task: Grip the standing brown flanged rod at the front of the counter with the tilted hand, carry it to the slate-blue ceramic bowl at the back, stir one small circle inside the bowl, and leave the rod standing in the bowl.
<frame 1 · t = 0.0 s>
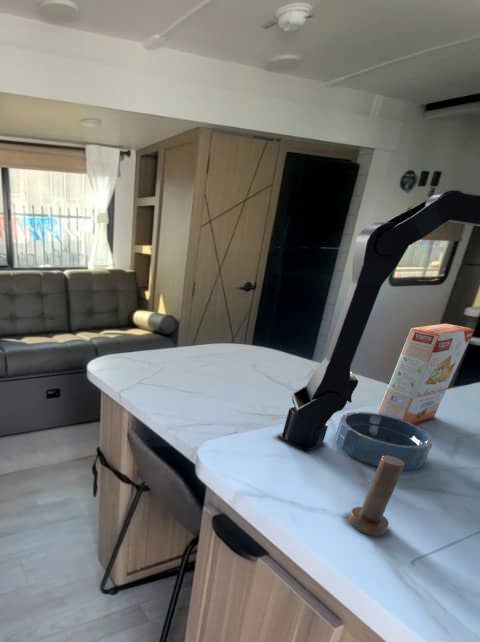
cracker box: (405, 419, 93), on the table
brown flanged rod: (366, 525, 59), on the table
bowl: (376, 451, 79), on the table
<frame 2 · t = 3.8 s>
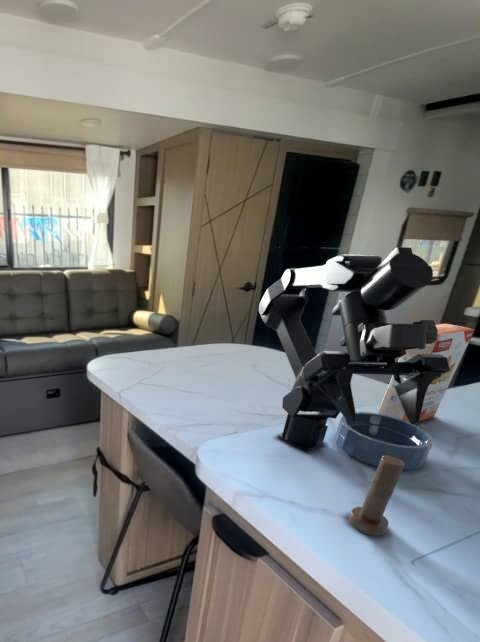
hand: (383, 422, 58), 14 cm above the table, tool tilted 45°, fingers open, 9 cm apart
nothing on the table moved.
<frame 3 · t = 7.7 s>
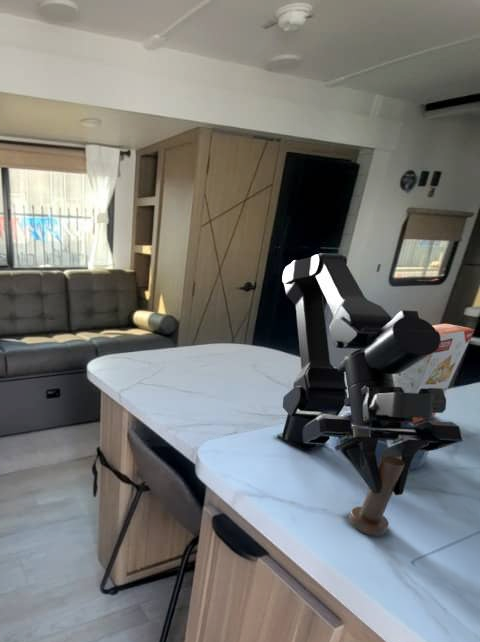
hand: (387, 493, 55), 7 cm above the table, tool tilted 45°, fingers closed on brown flanged rod, 2 cm apart
brown flanged rod: (366, 525, 59), on the table, touching gripper
everything else where it was.
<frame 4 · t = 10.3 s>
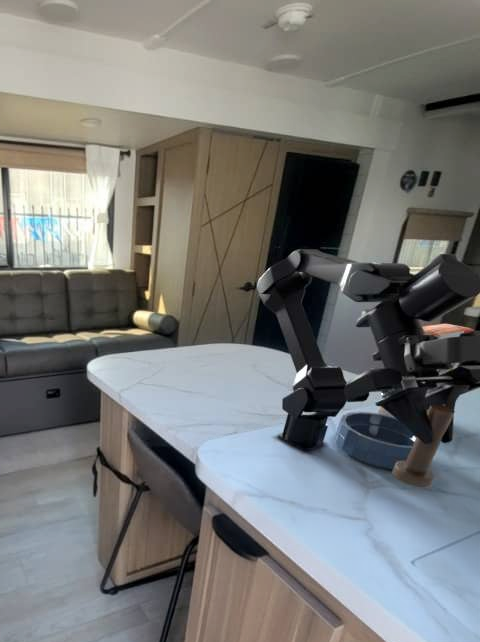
hand: (438, 442, 54), 13 cm above the table, tool tilted 45°, fingers closed on brown flanged rod, 2 cm apart
brown flanged rod: (410, 478, 58), point 7 cm above the table, touching gripper
everything else where it was.
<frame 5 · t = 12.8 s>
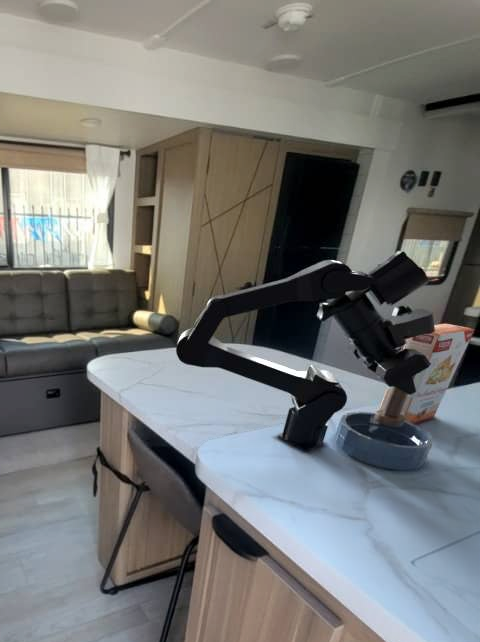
hand: (409, 390, 73), 13 cm above the table, tool tilted 45°, fingers closed on brown flanged rod, 2 cm apart
brown flanged rod: (387, 421, 76), point 6 cm above the table, touching gripper
everything else where it was.
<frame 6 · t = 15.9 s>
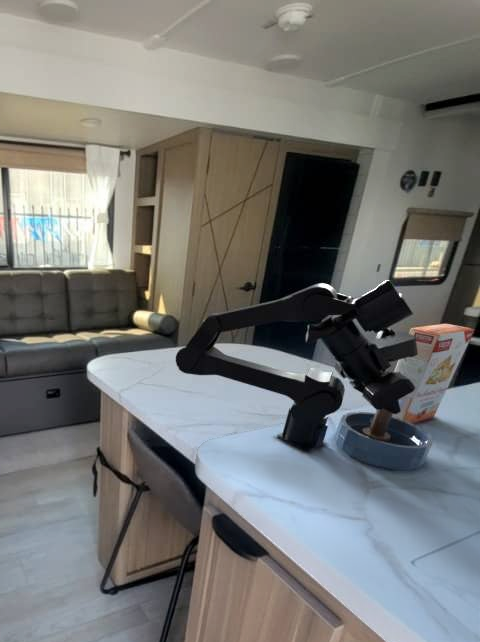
hand: (394, 409, 75), 9 cm above the table, tool tilted 45°, fingers closed on brown flanged rod, 2 cm apart
brown flanged rod: (373, 439, 78), point 2 cm above the table, touching gripper
everything else where it was.
when the fingers open (7 cm above the table, at t = 18.0 s): brown flanged rod stays where it is, resting on bowl.
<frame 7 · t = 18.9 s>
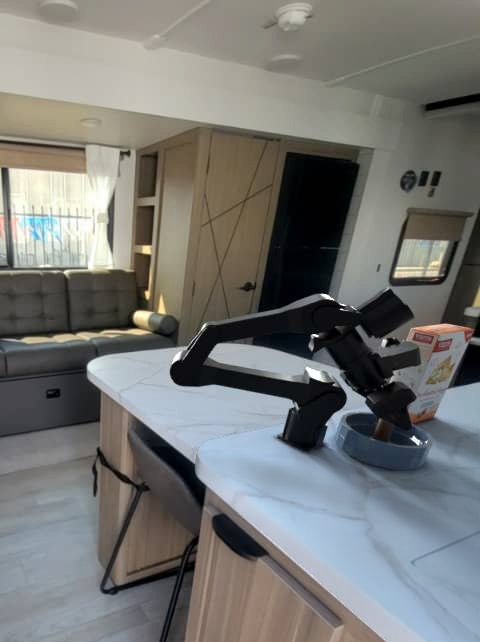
hand: (398, 418, 75), 7 cm above the table, tool tilted 45°, fingers open, 9 cm apart
brown flanged rod: (376, 448, 78), point 1 cm above the table, touching bowl
everything else where it was.
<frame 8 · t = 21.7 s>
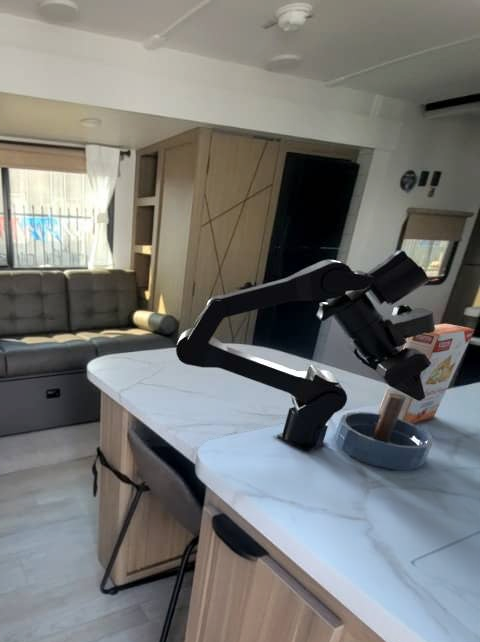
hand: (409, 389, 73), 13 cm above the table, tool tilted 45°, fingers open, 9 cm apart
nothing on the table moved.
at the end: brown flanged rod 0.1 cm from the bowl (horizontally); brown flanged rod point 0.6 cm above the table; the gripper is holding nothing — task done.
